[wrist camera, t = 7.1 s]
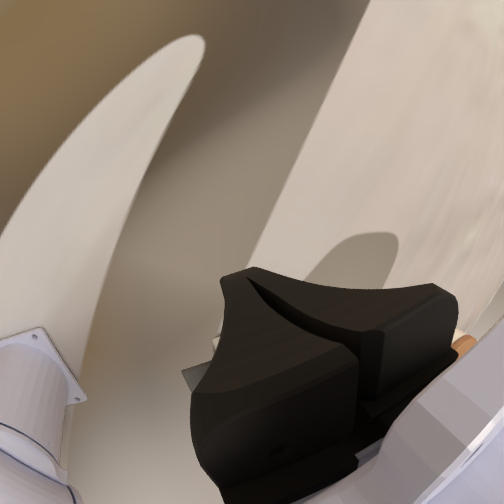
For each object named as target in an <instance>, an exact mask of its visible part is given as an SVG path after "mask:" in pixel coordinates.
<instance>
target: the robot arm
mask: <svg viewBox="0 0 504 504" xmlns="http://www.w3.org/2000/svg"><path fill="white" fill-rule="evenodd" d="M220 284H221V288H222V292H223V295H224V299H225V309H224V320H223V326H222V331H221V335H220V339H219V342H218V345H217V348H216V351H215V353H214V356H213V358H212V360H211V362H210V364H209V366H208V368H207V370H206V372H205V374H204V376H203V377H202V379H201V380H200V382H199V383H198V385H197V386H196V388H195V390H194V391H193V392H192V394H191V408H190V427H191V428H190V429H191V437H192V442H193V446H194V449H195V452H196V456H197V459H198V461H199V463H200V466H201V467H202V468H203V470H204V471H205V472H206V473H207V475H208V476H209V477H210V478H211V480H212V481H213V482H214V483H215V484H216V486H217V487H218V488H219V490H220V493H221V496H222V498H223V501H224V503H225V504H504V315H503V316H502V317H501V318H500V319H499V320H498V321H497V323H495V325H493V327H492V328H491V329H490V330H489V331H488V332H487V333H486V334H485V335H484V336H483V337H481V339H479V340H478V341H477V342H476V343H475V344H474V345H473V346H472V347H471V348H470V349H469V350H468V351H467V352H465V353H464V354H463V355H462V356H461V357H460V358H459V359H458V360H456V359H457V358H458V356H459V354H458V352H457V351H456V350H454V349H453V348H452V347H451V344H452V340H453V336H454V333H455V329H456V325H457V320H458V313H459V312H458V302H457V300H456V298H455V296H454V295H452V294H451V293H449V292H447V291H446V290H444V289H442V288H440V287H439V286H437V285H435V284H433V283H430V284H423V285H417V286H410V287H404V288H392V289H373V290H372V289H368V290H367V289H346V288H337V287H330V286H323V285H317V284H312V283H308V282H304V281H300V280H296V279H293V278H289V277H286V276H283V275H280V274H277V273H274V272H270V271H267V270H264V269H261V268H258V267H251V268H248V269H245V270H242V271H239V272H236V273H233V274H230V275H227V276H223V277H222V278H221V279H220ZM33 334H35V335H37V337H35V336H34V335H33ZM76 397H78V398H76ZM87 398H88V396H87V394H86V393H85V391H84V390H83V389H82V387H81V386H80V384H79V383H78V382H77V380H76V379H75V377H74V376H73V375H72V373H71V372H70V370H69V369H68V367H67V366H66V364H65V363H64V361H63V360H62V358H61V357H60V355H59V353H58V352H57V350H56V349H55V347H54V345H53V344H52V342H51V341H50V339H49V337H48V335H47V334H46V332H45V331H44V330H43V329H42V328H35V329H32V330H29V331H26V332H23V333H20V334H17V335H14V336H11V337H7V338H4V339H1V340H0V504H84V503H83V500H82V498H81V496H80V494H79V492H78V491H77V490H76V489H75V488H74V487H72V486H71V485H68V471H66V470H64V469H63V468H61V467H60V452H61V441H62V431H63V423H64V415H65V408H66V406H67V405H72V404H76V403H81V402H85V401H87Z"/></svg>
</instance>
